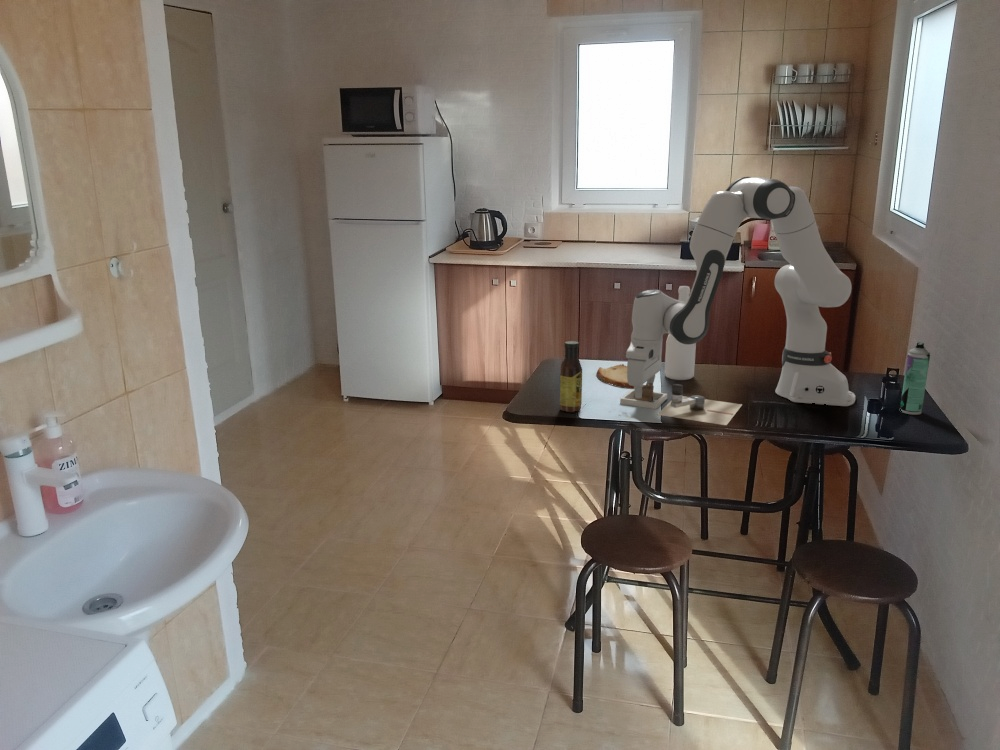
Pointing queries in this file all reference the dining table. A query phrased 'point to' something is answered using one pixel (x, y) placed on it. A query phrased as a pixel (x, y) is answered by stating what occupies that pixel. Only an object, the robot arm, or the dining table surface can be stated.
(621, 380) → the bread slice
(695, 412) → the crank board
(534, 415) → the dining table surface
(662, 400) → the tray
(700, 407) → the crank
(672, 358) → the wine bottle
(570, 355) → the sauce bottle
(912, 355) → the spray can
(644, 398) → the block
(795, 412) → the dining table surface
